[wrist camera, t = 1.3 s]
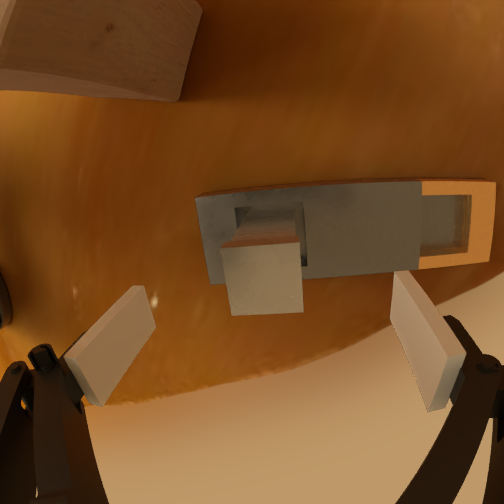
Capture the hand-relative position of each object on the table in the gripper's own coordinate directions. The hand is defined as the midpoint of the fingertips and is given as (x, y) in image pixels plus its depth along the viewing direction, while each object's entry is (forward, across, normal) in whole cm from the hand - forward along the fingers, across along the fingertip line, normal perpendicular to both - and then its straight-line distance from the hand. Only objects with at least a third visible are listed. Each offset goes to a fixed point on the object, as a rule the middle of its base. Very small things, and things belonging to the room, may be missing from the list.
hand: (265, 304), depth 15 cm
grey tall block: (+12, 0, 0) cm, 12 cm away
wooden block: (+13, -10, +19) cm, 26 cm away
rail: (+13, +8, 0) cm, 15 cm away
